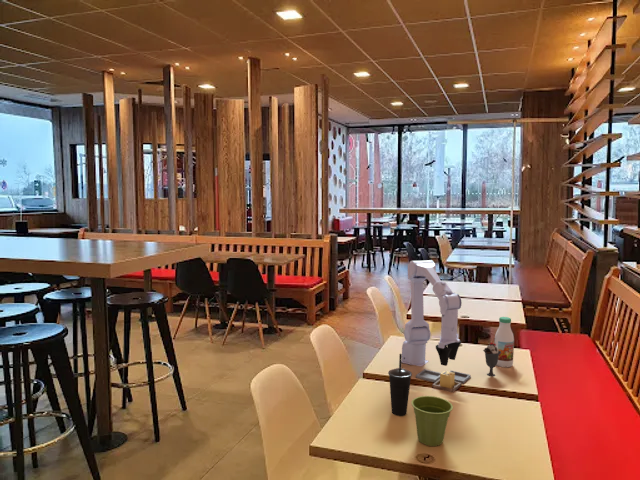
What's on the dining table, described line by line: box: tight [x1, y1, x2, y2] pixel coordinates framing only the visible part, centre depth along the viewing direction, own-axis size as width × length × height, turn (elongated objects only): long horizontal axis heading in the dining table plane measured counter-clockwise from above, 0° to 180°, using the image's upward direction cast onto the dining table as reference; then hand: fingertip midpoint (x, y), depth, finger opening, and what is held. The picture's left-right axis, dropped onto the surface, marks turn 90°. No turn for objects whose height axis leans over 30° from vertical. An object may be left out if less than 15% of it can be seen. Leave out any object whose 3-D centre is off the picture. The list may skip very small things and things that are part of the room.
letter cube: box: [440, 370, 455, 388], centre depth 189 cm, size 4×4×5 cm
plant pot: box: [411, 395, 454, 447], centre depth 150 cm, size 12×12×11 cm
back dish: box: [449, 370, 472, 385], centre depth 198 cm, size 8×8×2 cm
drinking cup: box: [387, 353, 413, 417], centre depth 168 cm, size 8×8×20 cm
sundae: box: [482, 337, 501, 377], centre depth 201 cm, size 7×7×15 cm
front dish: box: [431, 379, 462, 393], centre depth 190 cm, size 8×8×2 cm
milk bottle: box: [493, 316, 515, 368], centre depth 213 cm, size 8×8×20 cm
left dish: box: [415, 368, 442, 383], centre depth 199 cm, size 8×8×2 cm
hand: (448, 362), depth 190 cm, fingers open, 7 cm apart
